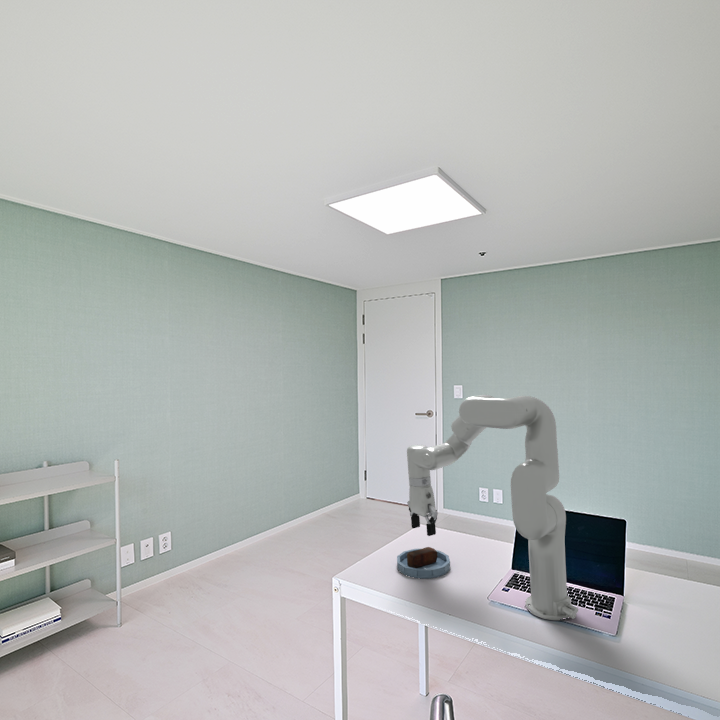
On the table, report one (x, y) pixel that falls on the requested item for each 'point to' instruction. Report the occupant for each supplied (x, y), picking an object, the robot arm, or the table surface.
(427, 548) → the brick
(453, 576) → the table surface
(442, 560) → the dish
